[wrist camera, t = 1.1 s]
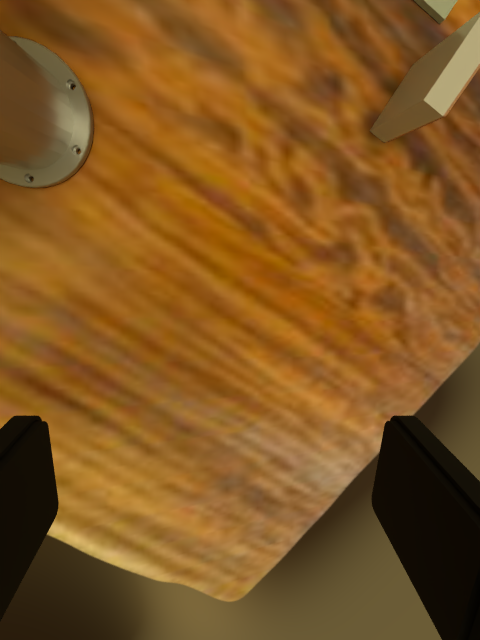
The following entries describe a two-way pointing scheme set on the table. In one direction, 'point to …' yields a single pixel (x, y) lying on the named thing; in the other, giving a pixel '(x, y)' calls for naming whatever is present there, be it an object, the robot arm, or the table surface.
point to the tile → (432, 84)
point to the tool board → (437, 8)
